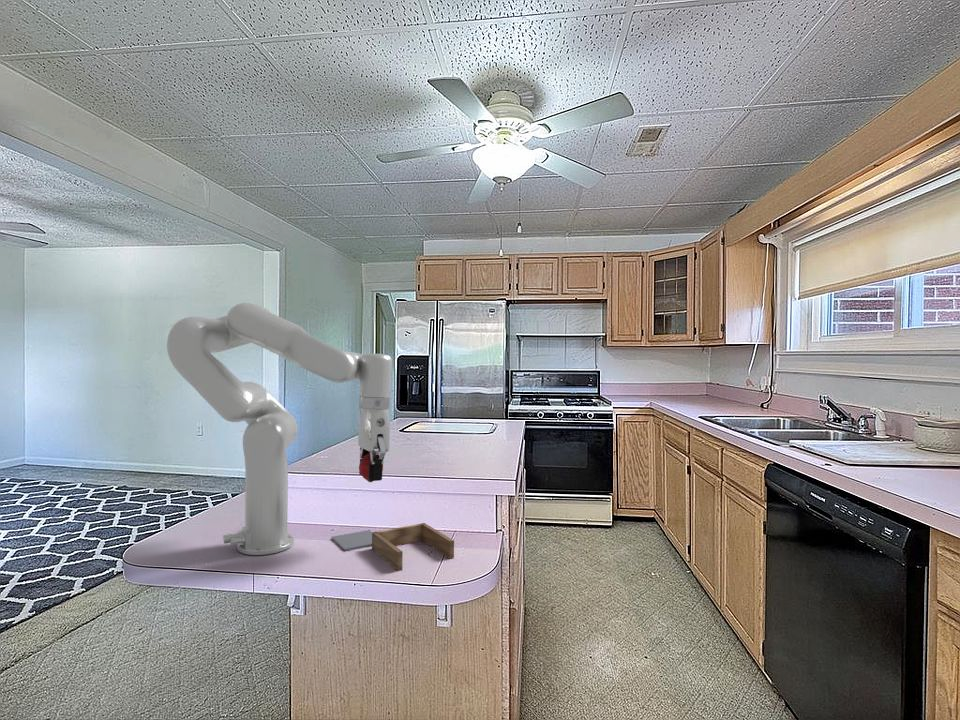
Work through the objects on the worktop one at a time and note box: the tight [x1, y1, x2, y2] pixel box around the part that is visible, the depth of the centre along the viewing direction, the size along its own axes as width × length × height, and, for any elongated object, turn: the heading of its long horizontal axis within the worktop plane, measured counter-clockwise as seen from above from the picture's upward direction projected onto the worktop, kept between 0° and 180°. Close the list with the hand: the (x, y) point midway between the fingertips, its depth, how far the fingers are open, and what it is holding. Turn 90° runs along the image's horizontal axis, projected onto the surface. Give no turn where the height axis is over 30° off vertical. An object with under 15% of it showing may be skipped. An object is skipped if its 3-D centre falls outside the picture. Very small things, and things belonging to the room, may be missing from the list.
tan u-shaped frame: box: [371, 522, 455, 572], centre depth 123 cm, size 14×15×4 cm
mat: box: [331, 529, 373, 552], centre depth 131 cm, size 10×10×1 cm
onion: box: [358, 449, 384, 483], centre depth 128 cm, size 6×6×8 cm
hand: (370, 476), depth 128 cm, fingers closed on onion, 5 cm apart
